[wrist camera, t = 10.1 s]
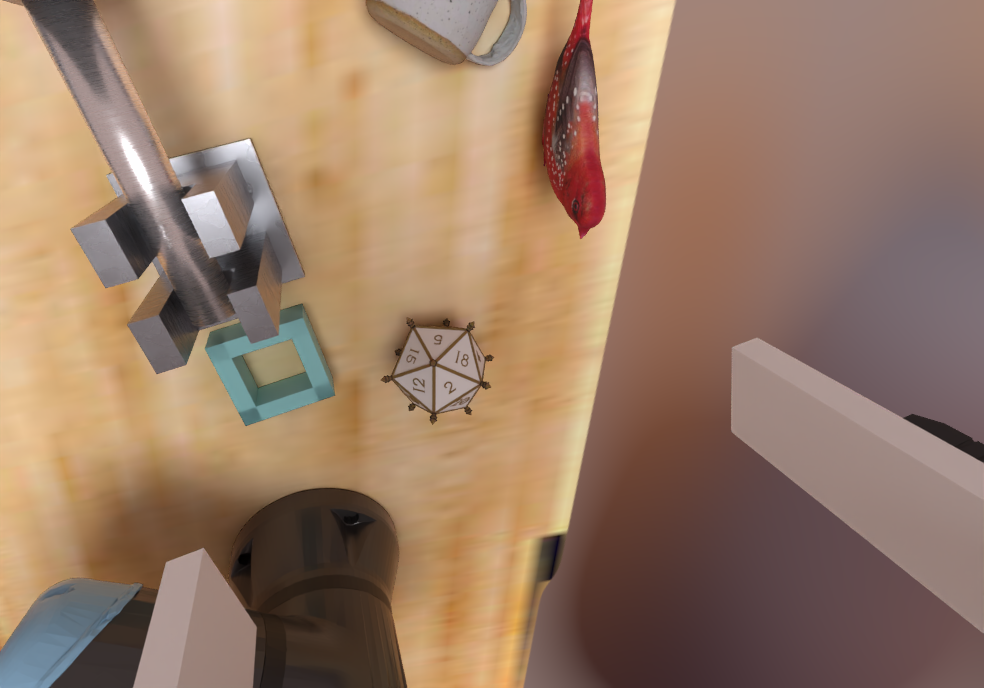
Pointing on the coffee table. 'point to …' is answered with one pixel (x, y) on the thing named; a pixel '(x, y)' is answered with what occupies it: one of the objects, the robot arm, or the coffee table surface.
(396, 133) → the coffee table surface
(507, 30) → the ceramic mug
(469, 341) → the game die
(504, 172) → the coffee table surface
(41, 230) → the coffee table surface
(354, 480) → the coffee table surface
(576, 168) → the decorative bird figurine
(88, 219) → the stand
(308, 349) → the frame
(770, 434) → the robot arm
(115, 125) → the grey piece
